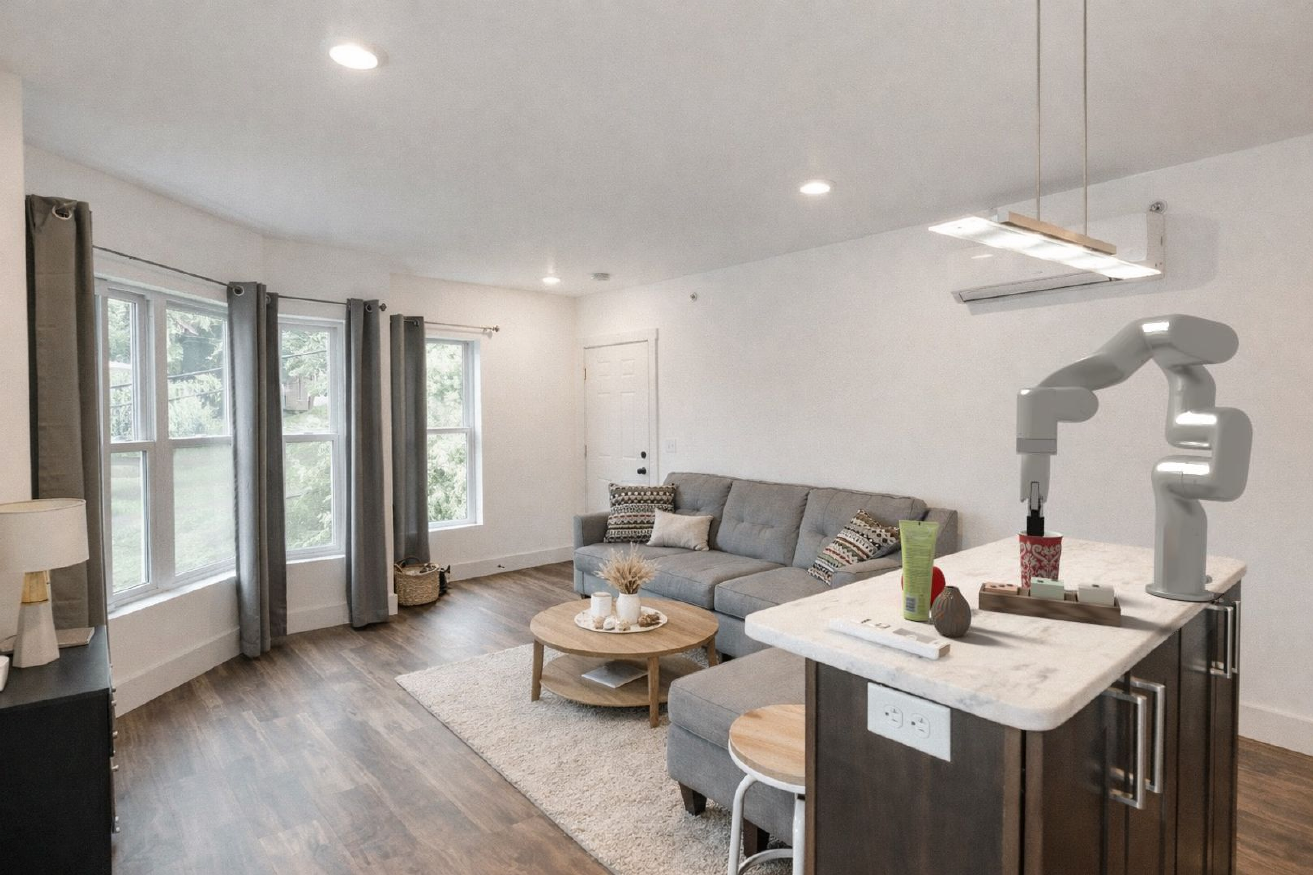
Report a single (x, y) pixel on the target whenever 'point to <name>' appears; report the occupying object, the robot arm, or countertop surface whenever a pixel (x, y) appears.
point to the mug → (1039, 556)
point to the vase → (951, 613)
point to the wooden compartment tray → (1050, 607)
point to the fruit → (935, 583)
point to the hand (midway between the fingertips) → (1035, 535)
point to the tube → (917, 566)
